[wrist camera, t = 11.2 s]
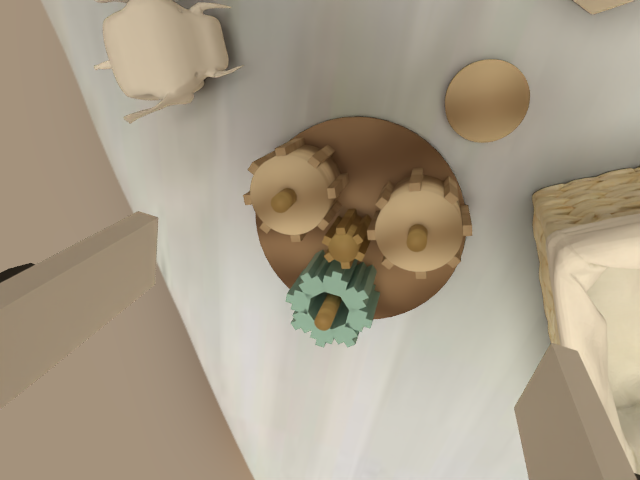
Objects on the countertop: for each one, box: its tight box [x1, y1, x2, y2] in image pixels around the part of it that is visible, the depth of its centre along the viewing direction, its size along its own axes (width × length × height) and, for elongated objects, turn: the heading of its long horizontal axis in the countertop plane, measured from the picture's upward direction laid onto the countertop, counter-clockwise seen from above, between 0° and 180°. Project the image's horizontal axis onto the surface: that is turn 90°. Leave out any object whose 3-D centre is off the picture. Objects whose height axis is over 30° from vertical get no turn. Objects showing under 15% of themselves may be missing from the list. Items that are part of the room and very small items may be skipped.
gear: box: [286, 250, 380, 347], centre depth 39 cm, size 8×8×5 cm
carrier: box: [243, 116, 472, 331], centre depth 36 cm, size 19×19×8 cm
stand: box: [445, 59, 530, 142], centre depth 32 cm, size 6×6×3 cm
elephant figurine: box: [94, 0, 244, 124], centre depth 34 cm, size 10×12×9 cm
